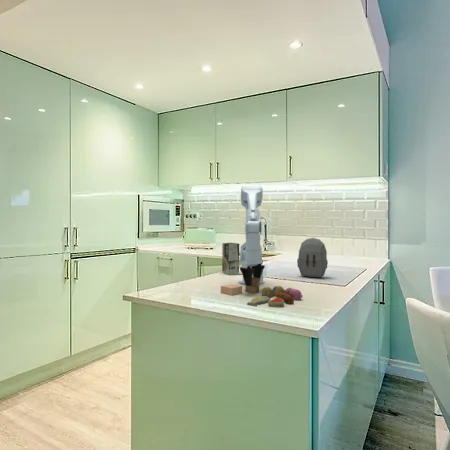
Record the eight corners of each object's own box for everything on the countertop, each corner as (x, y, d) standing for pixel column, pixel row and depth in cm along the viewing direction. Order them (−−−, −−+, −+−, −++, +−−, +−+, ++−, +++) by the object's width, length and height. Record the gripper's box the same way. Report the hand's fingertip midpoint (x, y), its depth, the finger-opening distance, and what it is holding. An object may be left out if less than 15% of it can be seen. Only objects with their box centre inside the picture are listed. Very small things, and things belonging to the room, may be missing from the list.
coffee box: (239, 274, 184) (239, 243, 184) (228, 275, 182) (228, 243, 181) (232, 271, 193) (233, 242, 192) (221, 272, 190) (222, 242, 190)
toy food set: (266, 292, 144) (266, 282, 143) (307, 296, 137) (307, 285, 137) (245, 306, 120) (245, 294, 120) (293, 312, 114) (293, 299, 113)
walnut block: (251, 290, 145) (251, 276, 144) (259, 291, 142) (259, 278, 142) (245, 291, 142) (245, 278, 142) (252, 293, 139) (253, 279, 139)
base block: (231, 291, 143) (231, 284, 143) (242, 293, 139) (242, 286, 139) (220, 293, 139) (220, 286, 139) (231, 296, 135) (231, 288, 135)
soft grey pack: (328, 277, 179) (329, 238, 178) (325, 279, 171) (326, 238, 171) (298, 274, 185) (299, 236, 185) (295, 277, 177) (295, 237, 177)
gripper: (252, 248, 150) (251, 280, 150) (235, 251, 137) (234, 285, 138) (267, 249, 146) (266, 282, 146) (251, 252, 134) (250, 287, 134)
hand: (252, 284), depth 142 cm, fingers open, 7 cm apart
